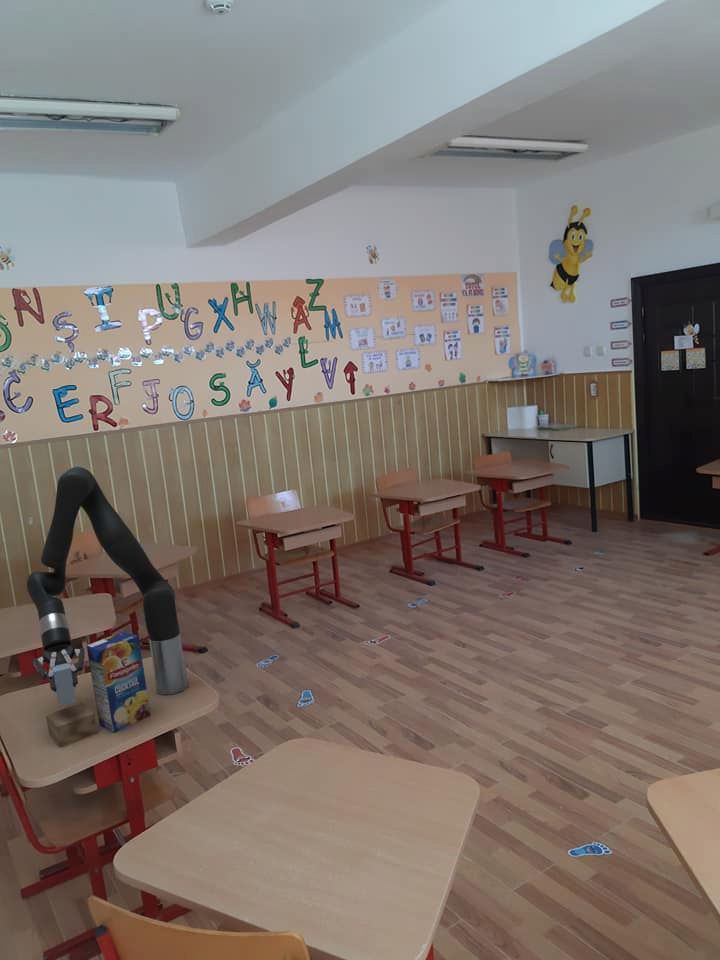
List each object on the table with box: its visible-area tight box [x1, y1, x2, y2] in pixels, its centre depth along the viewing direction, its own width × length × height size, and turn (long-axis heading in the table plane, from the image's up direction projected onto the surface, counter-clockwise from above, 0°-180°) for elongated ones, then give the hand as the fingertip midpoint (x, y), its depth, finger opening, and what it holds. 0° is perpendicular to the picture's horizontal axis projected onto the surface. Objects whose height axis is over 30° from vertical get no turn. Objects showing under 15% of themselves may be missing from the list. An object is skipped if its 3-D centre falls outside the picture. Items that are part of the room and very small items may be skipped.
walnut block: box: [45, 702, 98, 748], centre depth 206 cm, size 10×10×6 cm
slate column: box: [53, 663, 77, 707], centre depth 204 cm, size 4×4×10 cm
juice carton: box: [86, 631, 151, 734], centre depth 210 cm, size 12×8×24 cm, turn 139°
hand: (65, 688), depth 203 cm, fingers closed on slate column, 4 cm apart
